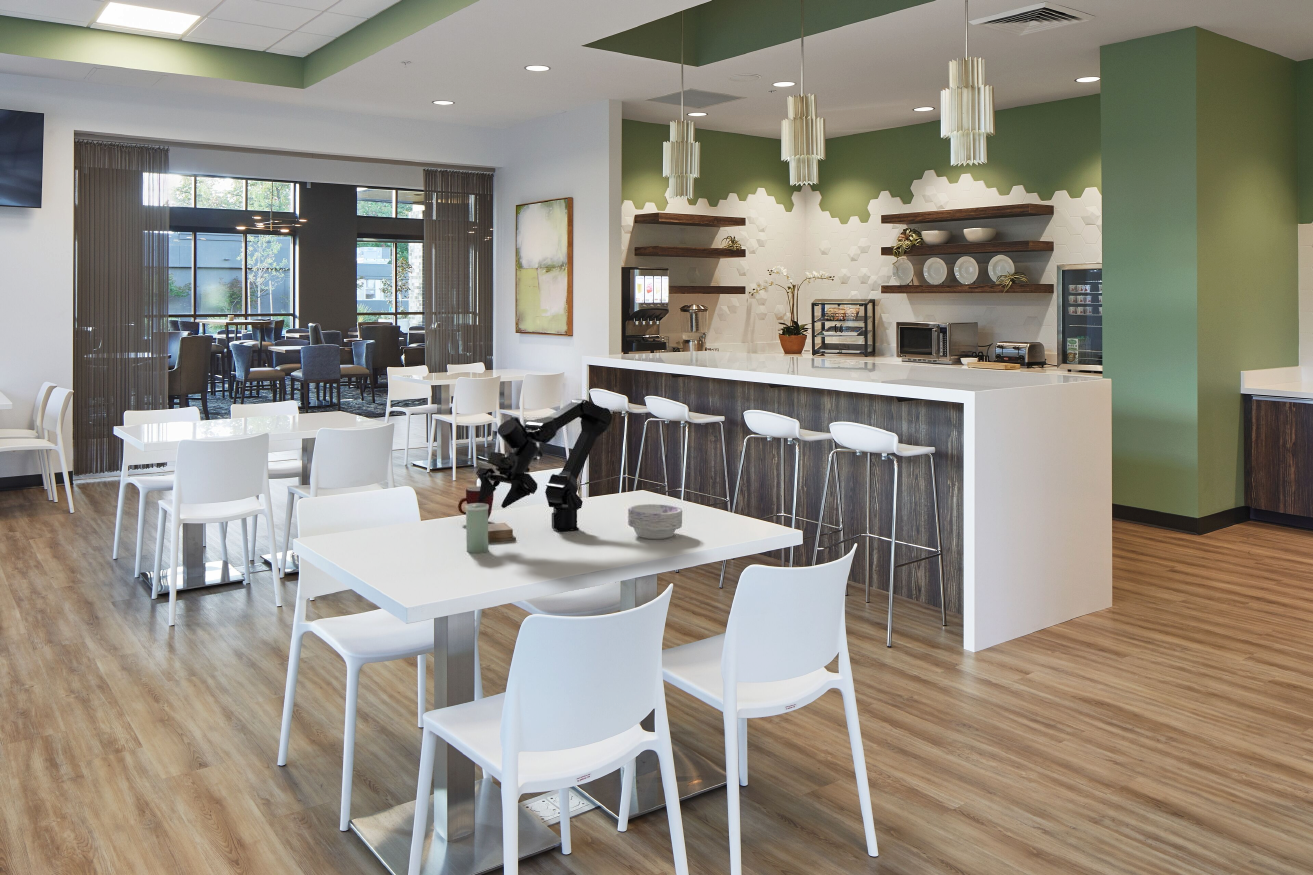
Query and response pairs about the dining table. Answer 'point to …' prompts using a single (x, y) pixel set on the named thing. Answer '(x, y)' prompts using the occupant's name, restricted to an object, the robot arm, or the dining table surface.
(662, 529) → the paper bowls
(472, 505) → the tumbler
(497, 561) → the dining table surface
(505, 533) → the pedestal
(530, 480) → the robot arm
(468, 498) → the mug
